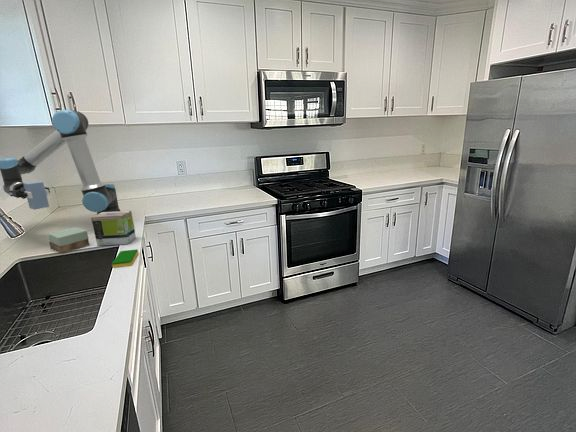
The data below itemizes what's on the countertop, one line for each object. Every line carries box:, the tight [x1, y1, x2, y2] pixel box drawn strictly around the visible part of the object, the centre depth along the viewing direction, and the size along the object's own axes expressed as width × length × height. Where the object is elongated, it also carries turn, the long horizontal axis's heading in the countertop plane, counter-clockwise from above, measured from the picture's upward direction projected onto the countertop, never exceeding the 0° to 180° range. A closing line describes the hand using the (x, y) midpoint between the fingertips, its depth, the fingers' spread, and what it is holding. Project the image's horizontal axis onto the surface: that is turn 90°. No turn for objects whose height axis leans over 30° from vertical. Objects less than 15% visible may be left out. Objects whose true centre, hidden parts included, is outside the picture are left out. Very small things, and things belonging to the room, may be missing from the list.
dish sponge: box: [111, 249, 139, 268], centre depth 135 cm, size 7×14×2 cm, turn 14°
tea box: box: [90, 210, 137, 246], centre depth 156 cm, size 15×10×15 cm
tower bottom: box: [48, 238, 90, 254], centre depth 153 cm, size 12×12×4 cm
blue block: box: [23, 180, 50, 210], centre depth 151 cm, size 6×6×12 cm
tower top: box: [47, 226, 89, 246], centre depth 152 cm, size 12×12×4 cm
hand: (39, 193), depth 148 cm, fingers closed on blue block, 6 cm apart
